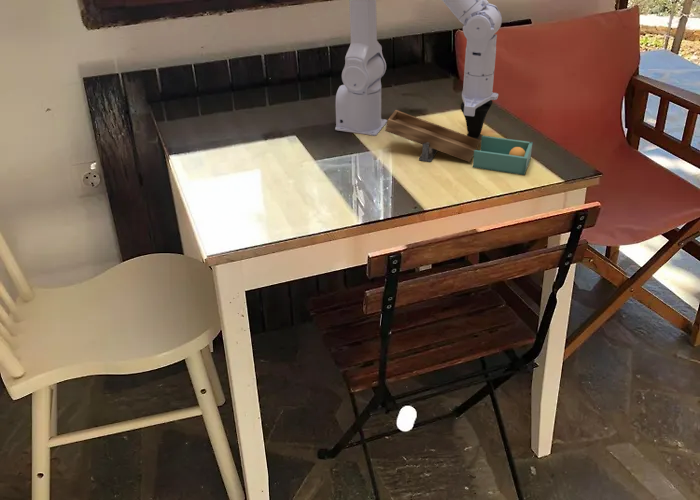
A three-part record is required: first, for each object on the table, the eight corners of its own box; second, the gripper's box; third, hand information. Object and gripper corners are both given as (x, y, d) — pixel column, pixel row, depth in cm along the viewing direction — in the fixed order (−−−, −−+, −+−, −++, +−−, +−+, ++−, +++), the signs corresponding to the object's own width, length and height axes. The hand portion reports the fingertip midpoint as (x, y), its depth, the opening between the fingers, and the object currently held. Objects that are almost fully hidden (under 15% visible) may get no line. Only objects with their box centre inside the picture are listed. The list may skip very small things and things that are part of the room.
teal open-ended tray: (472, 167, 140) (474, 151, 138) (480, 151, 146) (482, 135, 144) (524, 175, 137) (526, 158, 135) (530, 158, 143) (532, 142, 141)
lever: (384, 131, 144) (387, 120, 142) (401, 110, 153) (404, 99, 151) (469, 163, 141) (473, 151, 139) (481, 139, 150) (485, 128, 148)
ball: (521, 149, 137) (526, 164, 138) (524, 142, 139) (529, 157, 141) (505, 153, 139) (510, 167, 140) (508, 146, 141) (513, 160, 142)
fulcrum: (418, 160, 143) (419, 143, 141) (430, 143, 150) (430, 127, 148) (430, 162, 142) (431, 145, 140) (441, 144, 149) (442, 128, 147)
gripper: (492, 86, 133) (486, 153, 140) (506, 61, 144) (500, 124, 152) (454, 82, 135) (450, 148, 142) (471, 57, 146) (467, 120, 154)
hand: (474, 135), depth 147 cm, fingers closed, pressing on lever
